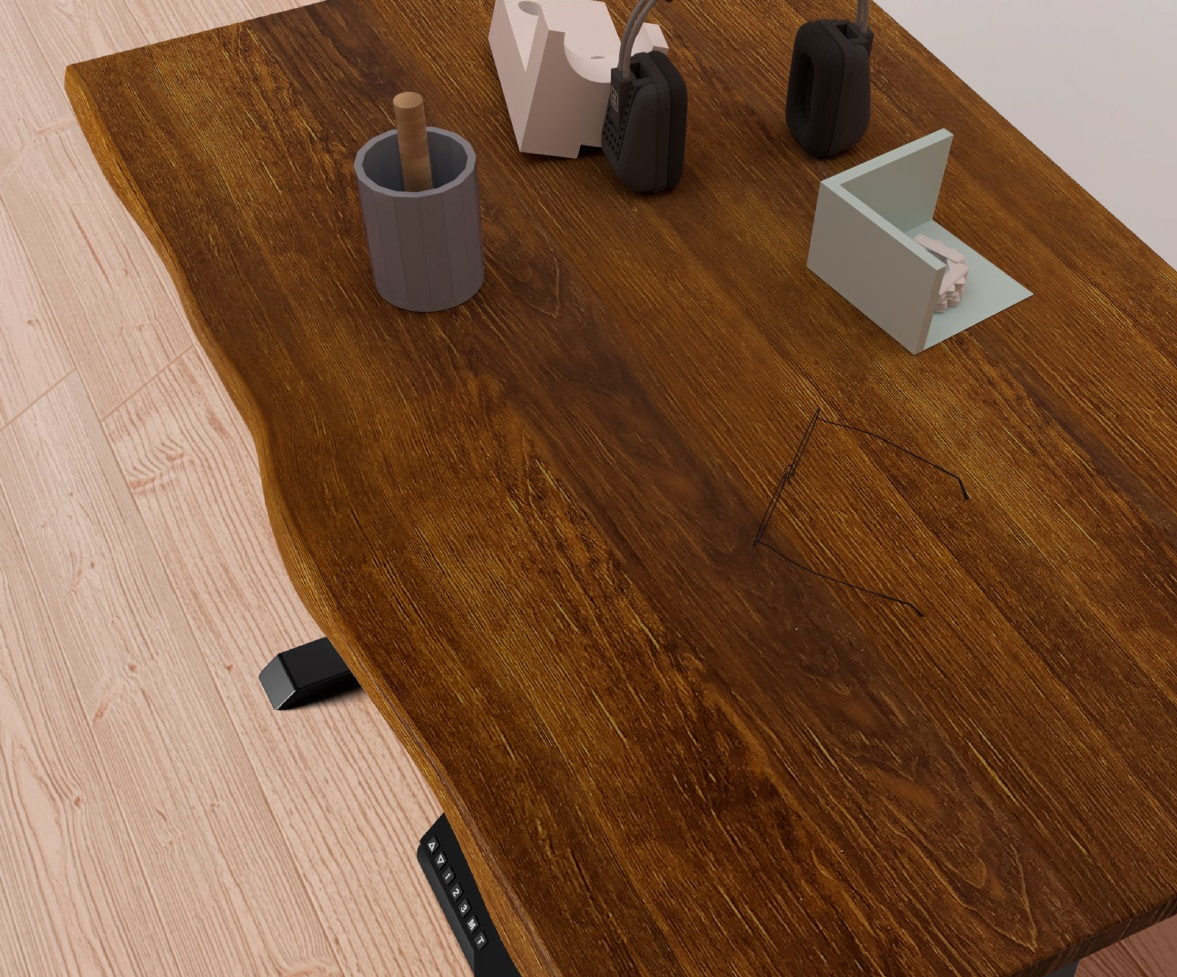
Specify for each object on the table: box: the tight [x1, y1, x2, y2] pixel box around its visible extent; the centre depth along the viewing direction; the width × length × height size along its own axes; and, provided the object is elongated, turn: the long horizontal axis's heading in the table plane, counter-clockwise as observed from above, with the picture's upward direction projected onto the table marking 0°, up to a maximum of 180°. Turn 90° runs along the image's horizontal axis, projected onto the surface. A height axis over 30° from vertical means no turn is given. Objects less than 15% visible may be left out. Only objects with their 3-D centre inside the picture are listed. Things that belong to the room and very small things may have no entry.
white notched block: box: [487, 0, 670, 159], centre depth 107 cm, size 18×10×10 cm, turn 11°
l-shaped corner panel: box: [806, 127, 1034, 356], centre depth 93 cm, size 12×12×8 cm
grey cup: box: [353, 126, 486, 313], centre depth 92 cm, size 8×8×10 cm
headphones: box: [601, 0, 875, 193], centre depth 98 cm, size 22×6×20 cm, turn 109°
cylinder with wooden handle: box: [392, 91, 433, 192], centre depth 90 cm, size 4×4×14 cm
